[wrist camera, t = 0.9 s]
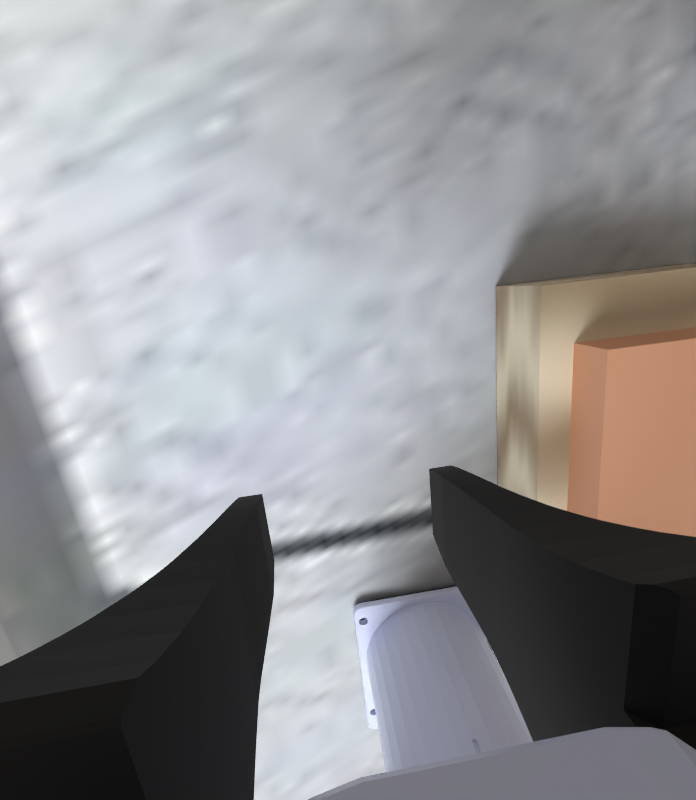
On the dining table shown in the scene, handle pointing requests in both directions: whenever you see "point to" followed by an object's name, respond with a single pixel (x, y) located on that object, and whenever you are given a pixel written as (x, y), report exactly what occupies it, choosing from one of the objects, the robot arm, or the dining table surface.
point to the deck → (567, 359)
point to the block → (635, 431)
